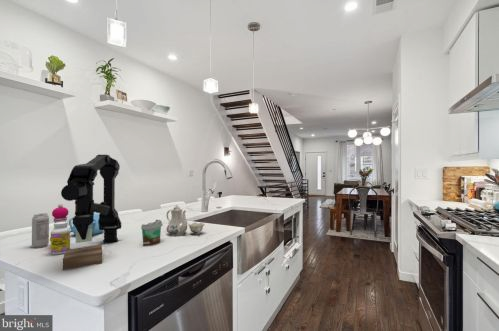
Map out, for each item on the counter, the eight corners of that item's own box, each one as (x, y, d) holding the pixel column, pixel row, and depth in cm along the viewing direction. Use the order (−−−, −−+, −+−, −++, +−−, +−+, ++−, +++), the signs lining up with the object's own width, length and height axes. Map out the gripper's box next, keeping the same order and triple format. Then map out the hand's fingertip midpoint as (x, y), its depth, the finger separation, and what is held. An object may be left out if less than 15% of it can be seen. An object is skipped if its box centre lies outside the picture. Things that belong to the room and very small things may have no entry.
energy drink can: (45, 243, 117) (45, 212, 117) (51, 245, 114) (51, 213, 114) (29, 247, 112) (29, 214, 112) (34, 249, 109) (35, 215, 109)
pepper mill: (53, 251, 106) (54, 205, 106) (47, 248, 110) (47, 204, 110) (72, 246, 112) (73, 203, 113) (65, 244, 116) (66, 202, 116)
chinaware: (209, 236, 135) (211, 206, 136) (187, 240, 121) (189, 206, 123) (175, 229, 150) (177, 202, 152) (152, 232, 136) (154, 203, 138)
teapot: (105, 228, 147) (105, 207, 147) (114, 234, 132) (114, 211, 133) (65, 234, 134) (65, 211, 134) (69, 242, 119) (70, 216, 119)
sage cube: (76, 239, 95) (76, 227, 95) (91, 237, 97) (92, 225, 97) (75, 243, 90) (75, 229, 90) (91, 241, 93) (91, 228, 93)
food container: (153, 247, 110) (153, 225, 111) (141, 246, 112) (141, 224, 112) (167, 239, 122) (167, 219, 123) (156, 239, 124) (156, 219, 124)
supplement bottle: (48, 256, 100) (48, 225, 100) (52, 251, 105) (52, 222, 106) (68, 253, 103) (68, 223, 103) (71, 249, 108) (71, 220, 109)
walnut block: (66, 259, 95) (66, 249, 96) (101, 254, 102) (101, 244, 102) (62, 270, 85) (62, 258, 85) (102, 263, 92) (102, 252, 92)
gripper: (109, 198, 91) (109, 240, 90) (107, 194, 106) (107, 229, 106) (72, 200, 85) (72, 245, 84) (76, 195, 100) (76, 233, 100)
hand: (84, 237), depth 94 cm, fingers closed on sage cube, 5 cm apart
